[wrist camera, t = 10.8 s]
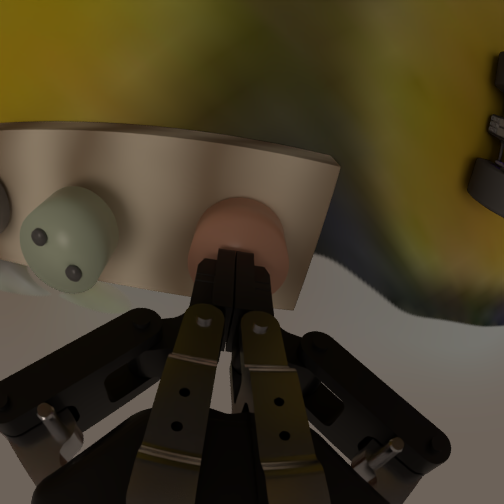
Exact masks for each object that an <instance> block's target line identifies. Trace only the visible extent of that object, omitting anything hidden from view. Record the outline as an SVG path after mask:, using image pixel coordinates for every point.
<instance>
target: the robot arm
mask: <svg viewBox="0 0 504 504" xmlns="http://www.w3.org/2000/svg"><path fill="white" fill-rule="evenodd" d="M235 253H236V256H235ZM225 344H226V351H227V352H232V360H231V365H230V384H231V385H230V386H231V400H232V414H226V413H223V412H220V411H217V410H214V409H211V408H210V403H211V397H212V391H213V385H214V379H215V374H216V368H217V364H218V362H219V357H220V352H221V351H224V348H225ZM160 379H161V380H160ZM159 380H160V383H159V386H158V390H157V393H156V396H155V400H154V403H153V407H152V408H150V409H146V410H143V411H140V412H138V413H136V414H134V415H132V416H130V417H129V418H128V419H126V420H125V421H124V422H122V423H121V424H120V425H118V426H117V427H116V428H114V429H113V430H112V431H110V432H109V433H108V434H106V435H105V436H104V437H102V438H101V439H99V440H98V441H97V442H95V443H94V444H93V445H91V446H90V447H88V448H87V449H86V450H84V451H83V452H82V453H80V454H79V455H77V456H76V457H75V458H73V456H74V455H75V454H76V453H77V452H78V451H79V450H80V449H81V447H82V445H83V441H84V438H83V433H82V432H84V431H86V430H87V429H89V428H90V427H91V426H93V425H95V424H96V423H98V422H99V421H101V420H102V419H104V418H105V417H107V416H108V415H110V414H111V413H113V412H114V411H116V410H117V409H119V408H120V407H122V406H123V405H124V404H126V403H127V402H129V401H130V400H132V399H133V398H135V397H136V396H137V395H139V394H140V393H142V392H143V391H145V390H146V389H148V388H149V387H150V386H152V385H153V384H155V383H156V382H158V381H159ZM321 382H322V383H324V384H325V385H326V386H327V387H328V388H329V389H330V390H331V391H332V392H333V393H334V394H335V395H336V396H337V397H339V398H340V399H341V400H340V399H339V398H337V397H336V396H335V395H334V394H333V393H332V392H331V391H330V390H329V389H327V387H326V386H324V385H323V384H322V383H321ZM308 421H310V423H312V424H313V425H314V426H315V427H316V428H317V429H318V430H319V431H320V432H321V433H322V434H323V435H324V436H325V437H326V438H327V439H328V440H329V441H330V442H331V443H332V444H334V446H336V447H337V448H338V449H339V450H340V451H341V452H342V453H343V454H344V455H345V456H346V457H348V458H349V459H350V460H351V466H350V465H349V464H348V463H347V462H346V461H345V460H344V459H343V458H342V457H341V456H340V455H338V453H337V452H336V451H335V450H334V449H333V448H332V447H331V446H330V445H329V444H328V443H327V442H326V441H325V440H324V439H323V438H322V437H321V436H320V435H319V434H318V433H316V432H315V431H314V430H312V429H311V428H310V427H309V423H308ZM0 432H1V433H2V435H3V436H4V437H5V438H6V439H7V440H8V441H9V443H10V444H11V446H12V448H13V450H14V451H15V453H16V454H17V457H18V458H19V460H20V462H21V463H22V465H23V467H24V468H25V470H26V471H27V473H28V474H29V476H30V477H31V479H32V480H33V482H34V483H35V485H36V486H37V487H36V489H35V491H34V493H33V496H32V501H31V504H403V502H404V501H405V500H406V498H407V497H408V496H409V494H410V493H411V492H412V491H413V489H414V488H415V486H416V485H417V484H418V482H419V480H420V479H421V478H422V476H424V475H425V474H427V473H428V472H430V471H431V470H433V469H434V468H436V467H438V466H439V465H441V464H442V463H444V462H445V461H446V460H447V459H448V458H449V456H450V453H451V445H450V441H449V439H448V438H447V436H446V435H445V434H444V433H443V432H442V431H441V430H440V429H438V428H437V427H436V426H435V425H434V424H433V423H431V422H430V421H429V420H428V419H426V418H425V417H424V416H423V415H422V414H421V413H419V412H418V411H417V410H416V409H415V408H414V407H412V406H411V405H410V404H409V403H408V402H406V401H405V400H404V399H403V398H402V397H400V396H399V395H398V394H397V393H396V392H395V391H394V390H392V389H391V388H390V387H389V386H388V385H386V384H385V383H384V382H383V381H382V380H380V379H379V378H378V377H377V376H376V375H375V374H374V373H372V372H371V371H370V370H369V369H368V368H367V367H365V366H364V365H363V364H362V363H361V362H360V361H358V360H357V359H356V358H355V357H354V356H352V355H351V354H350V353H349V352H348V351H347V350H345V349H344V348H343V347H342V346H341V345H340V344H339V343H338V342H336V341H335V340H334V339H333V338H332V337H330V336H329V335H327V334H325V333H322V332H318V331H313V332H308V333H306V334H305V335H304V336H303V337H299V336H296V335H293V334H290V333H288V332H286V331H285V330H283V329H282V328H281V327H280V325H279V323H278V321H277V319H276V318H275V317H274V311H273V301H272V292H271V281H270V274H269V273H268V271H267V270H266V269H265V267H262V266H255V265H254V253H247V252H241V251H237V252H236V251H234V250H227V249H221V248H219V249H218V256H217V260H215V259H208V258H204V259H203V260H202V261H201V262H200V263H199V264H198V267H197V272H196V277H195V282H194V286H193V291H192V296H191V302H190V306H189V308H188V309H187V310H186V312H185V313H184V314H182V315H180V316H178V317H175V318H166V319H161V317H160V316H159V315H158V314H157V313H156V312H155V311H153V310H150V309H147V308H136V309H132V310H130V311H128V312H126V313H124V314H122V315H121V316H119V317H117V318H115V319H113V320H111V321H109V322H108V323H106V324H104V325H102V326H100V327H99V328H97V329H95V330H93V331H92V332H89V333H87V334H86V335H84V336H82V337H80V338H78V339H76V340H75V341H73V342H71V343H69V344H67V345H65V346H64V347H62V348H60V349H58V350H56V351H54V352H53V353H51V354H49V355H47V356H46V357H44V358H42V359H40V360H38V361H36V362H34V363H33V364H31V365H29V366H27V367H25V368H24V369H22V370H20V371H18V372H16V373H15V374H13V375H11V376H9V377H7V378H5V379H3V380H2V381H0ZM72 458H73V459H72Z"/></svg>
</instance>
